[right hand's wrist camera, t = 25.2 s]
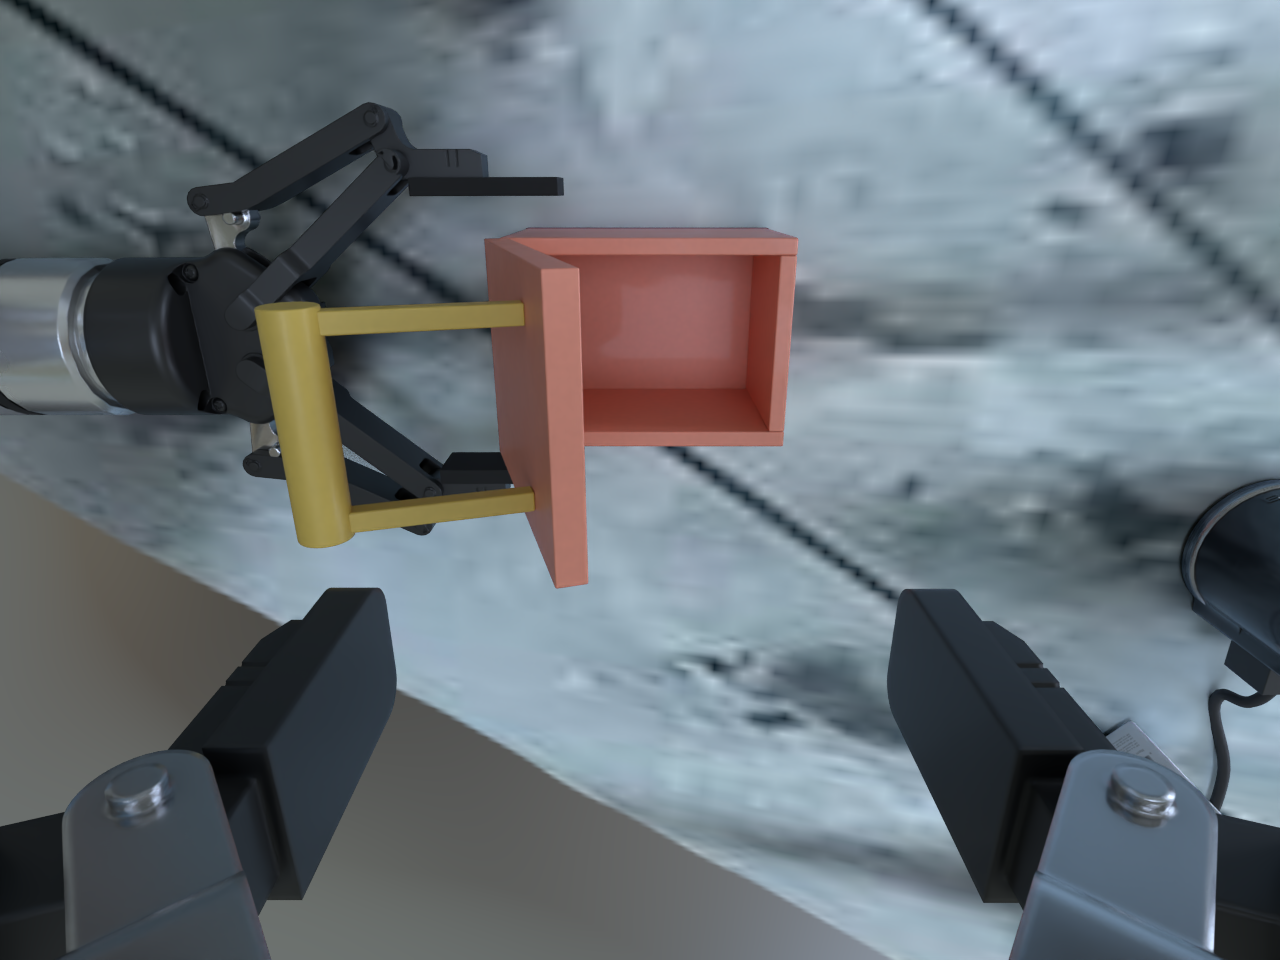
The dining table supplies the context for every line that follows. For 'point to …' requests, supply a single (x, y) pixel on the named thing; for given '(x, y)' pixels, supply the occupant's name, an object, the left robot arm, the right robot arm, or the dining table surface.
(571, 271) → the block with yellow handle
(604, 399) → the chest
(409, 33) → the dining table surface
